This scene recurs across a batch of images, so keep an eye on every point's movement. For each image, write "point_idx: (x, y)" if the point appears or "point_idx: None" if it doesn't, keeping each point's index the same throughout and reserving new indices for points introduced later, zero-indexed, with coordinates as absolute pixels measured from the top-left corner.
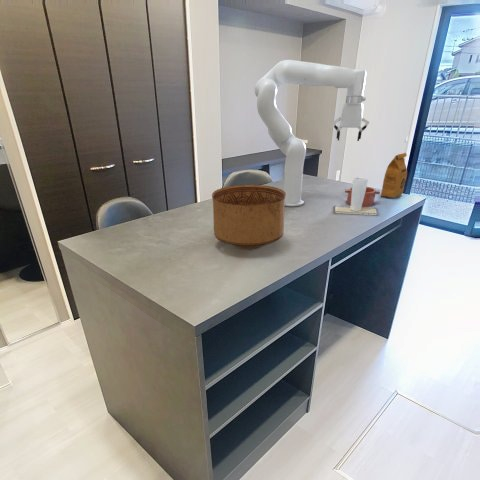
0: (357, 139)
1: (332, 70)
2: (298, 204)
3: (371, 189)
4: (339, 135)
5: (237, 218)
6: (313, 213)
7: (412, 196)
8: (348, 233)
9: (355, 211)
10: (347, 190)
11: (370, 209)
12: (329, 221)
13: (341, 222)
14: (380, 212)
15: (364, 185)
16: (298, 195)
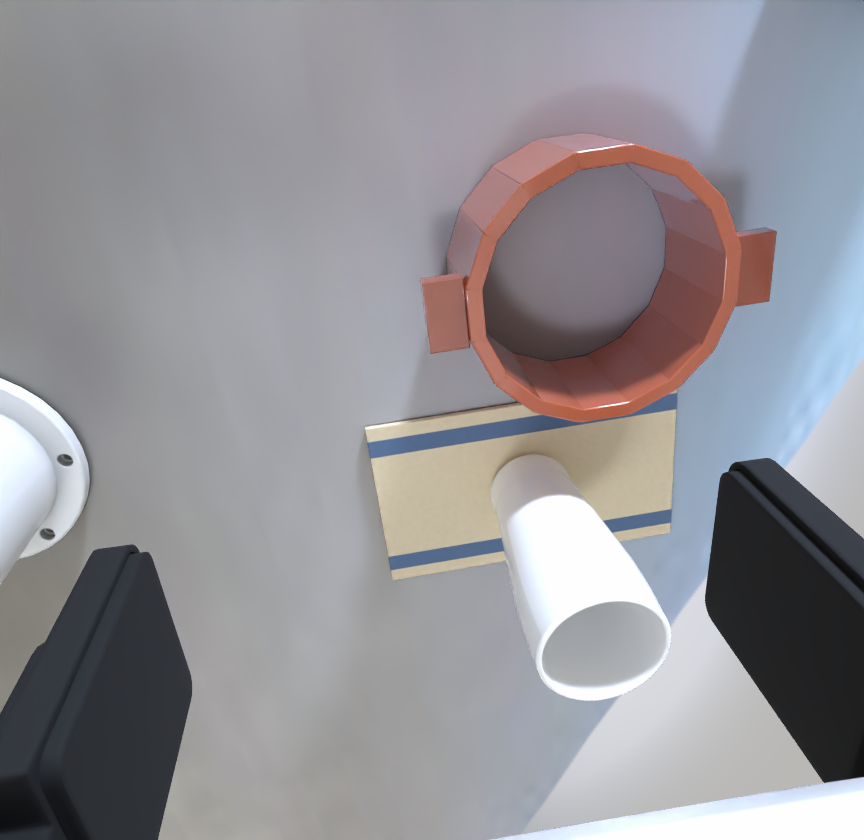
0: (725, 555)
1: None
2: (70, 528)
3: (702, 205)
4: (158, 810)
5: None
6: (250, 622)
7: None
8: (501, 806)
9: None
10: (454, 335)
11: (637, 438)
12: (385, 709)
13: (454, 701)
14: (699, 459)
15: (627, 648)
16: (24, 548)
